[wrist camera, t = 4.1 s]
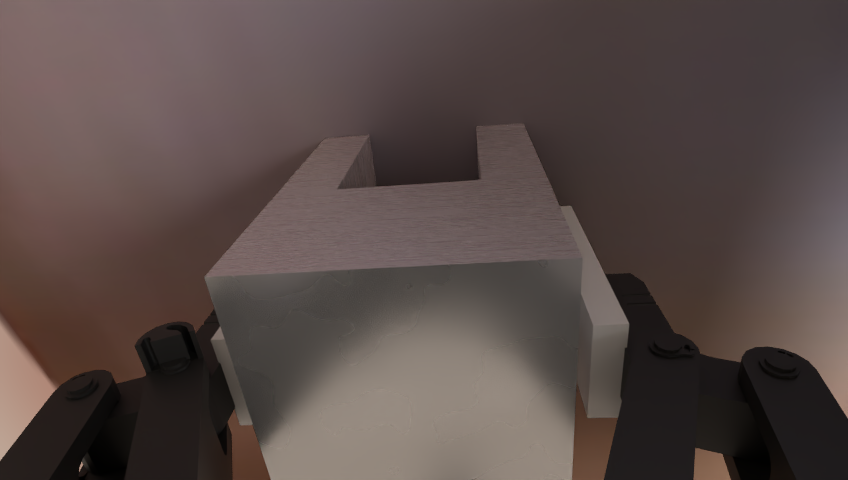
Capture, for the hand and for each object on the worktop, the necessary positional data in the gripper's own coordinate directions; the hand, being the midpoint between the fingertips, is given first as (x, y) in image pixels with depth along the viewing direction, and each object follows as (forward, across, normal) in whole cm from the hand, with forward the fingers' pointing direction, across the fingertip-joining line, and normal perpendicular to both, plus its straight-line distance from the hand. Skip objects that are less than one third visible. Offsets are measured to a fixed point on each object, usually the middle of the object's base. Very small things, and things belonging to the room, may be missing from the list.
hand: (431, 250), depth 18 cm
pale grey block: (+1, 0, 0) cm, 1 cm away
